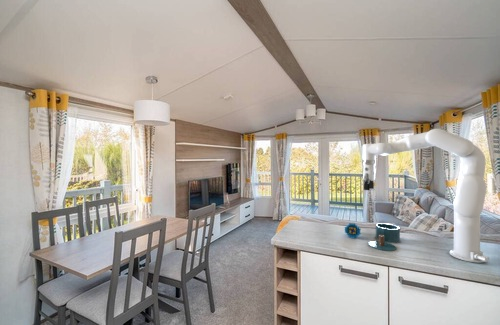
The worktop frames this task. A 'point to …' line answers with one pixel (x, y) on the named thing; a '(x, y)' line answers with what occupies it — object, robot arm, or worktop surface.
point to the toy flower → (352, 230)
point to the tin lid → (382, 244)
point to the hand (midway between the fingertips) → (368, 189)
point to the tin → (388, 232)
